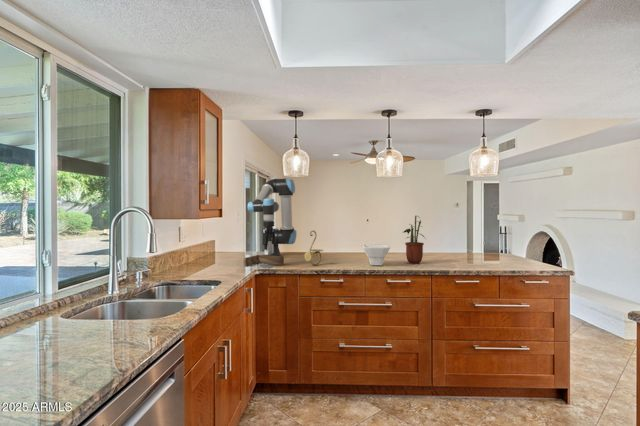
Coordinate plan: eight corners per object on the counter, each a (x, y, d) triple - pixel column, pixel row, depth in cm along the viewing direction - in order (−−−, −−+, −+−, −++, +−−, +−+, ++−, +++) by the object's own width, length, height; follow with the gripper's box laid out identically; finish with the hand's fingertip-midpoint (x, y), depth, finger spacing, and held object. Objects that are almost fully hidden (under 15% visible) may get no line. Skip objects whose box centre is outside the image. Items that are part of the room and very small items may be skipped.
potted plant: (409, 261, 290) (409, 215, 290) (429, 263, 282) (429, 215, 281) (400, 264, 276) (400, 215, 275) (421, 266, 267) (421, 216, 266)
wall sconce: (312, 267, 266) (312, 231, 265) (303, 265, 272) (303, 230, 272) (326, 264, 276) (326, 230, 275) (317, 263, 282) (316, 229, 282)
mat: (260, 264, 277) (260, 264, 277) (276, 265, 271) (276, 265, 271) (253, 266, 267) (253, 266, 267) (269, 268, 262) (269, 267, 262)
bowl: (362, 263, 282) (362, 244, 282) (389, 263, 280) (389, 244, 280) (362, 267, 264) (362, 247, 263) (391, 267, 261) (391, 247, 261)
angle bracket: (272, 253, 270) (272, 241, 270) (267, 254, 265) (267, 241, 264) (261, 253, 274) (261, 240, 274) (256, 254, 268) (256, 241, 268)
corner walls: (257, 262, 286) (257, 254, 286) (283, 264, 277) (283, 256, 277) (243, 266, 269) (243, 258, 269) (271, 268, 261) (270, 259, 260)
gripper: (271, 220, 277) (271, 252, 278) (256, 221, 260) (257, 255, 260) (280, 220, 275) (280, 252, 275) (266, 221, 257) (266, 255, 257)
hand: (269, 253), depth 268 cm, fingers closed on angle bracket, 6 cm apart
